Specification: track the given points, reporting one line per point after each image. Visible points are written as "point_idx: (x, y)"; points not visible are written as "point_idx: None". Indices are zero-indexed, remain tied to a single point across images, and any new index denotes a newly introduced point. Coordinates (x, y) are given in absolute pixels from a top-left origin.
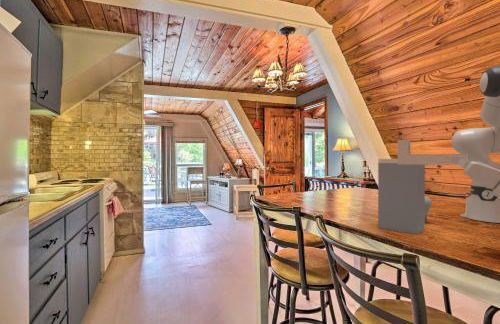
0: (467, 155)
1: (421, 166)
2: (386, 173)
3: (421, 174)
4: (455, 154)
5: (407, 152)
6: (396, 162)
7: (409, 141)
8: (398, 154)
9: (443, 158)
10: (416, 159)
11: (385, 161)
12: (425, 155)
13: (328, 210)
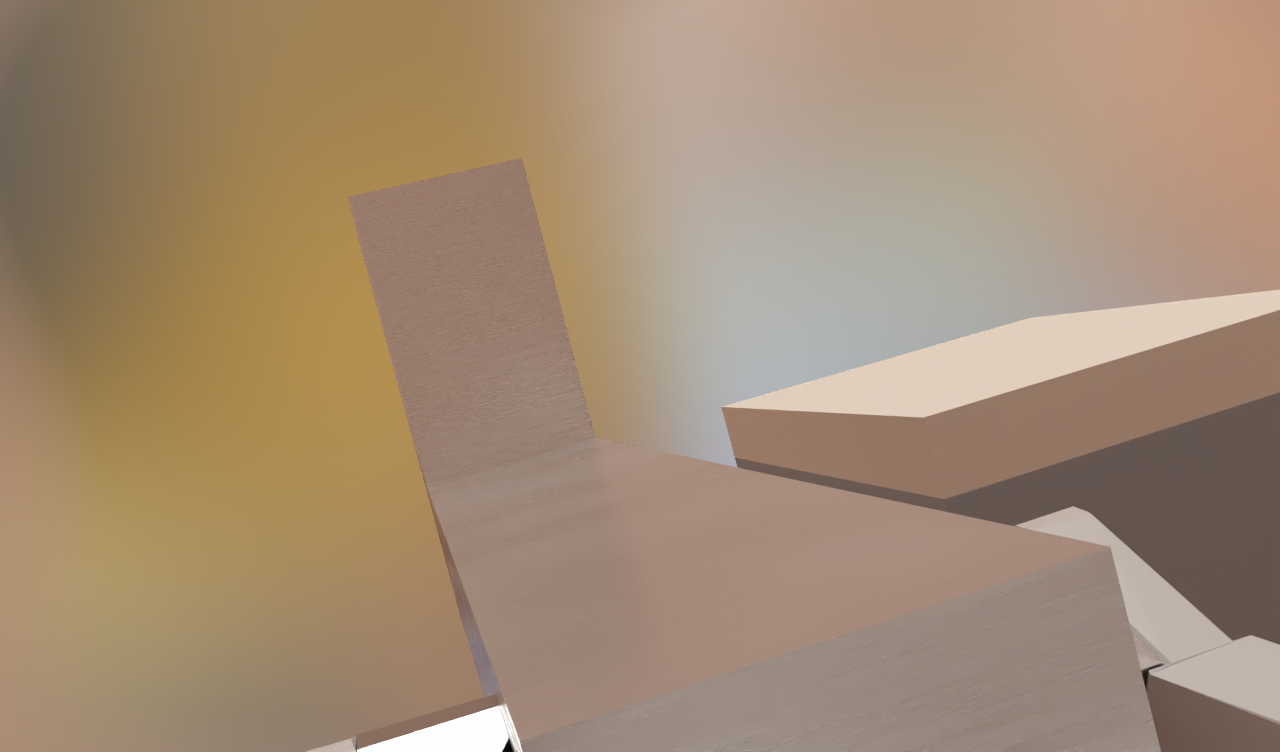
0: (858, 703)
1: (1204, 485)
2: None
3: (1239, 632)
4: (480, 628)
5: (415, 434)
6: (809, 464)
7: (476, 197)
8: (418, 460)
9: (488, 687)
10: (455, 588)
11: (757, 442)
12: (440, 527)
13: None
